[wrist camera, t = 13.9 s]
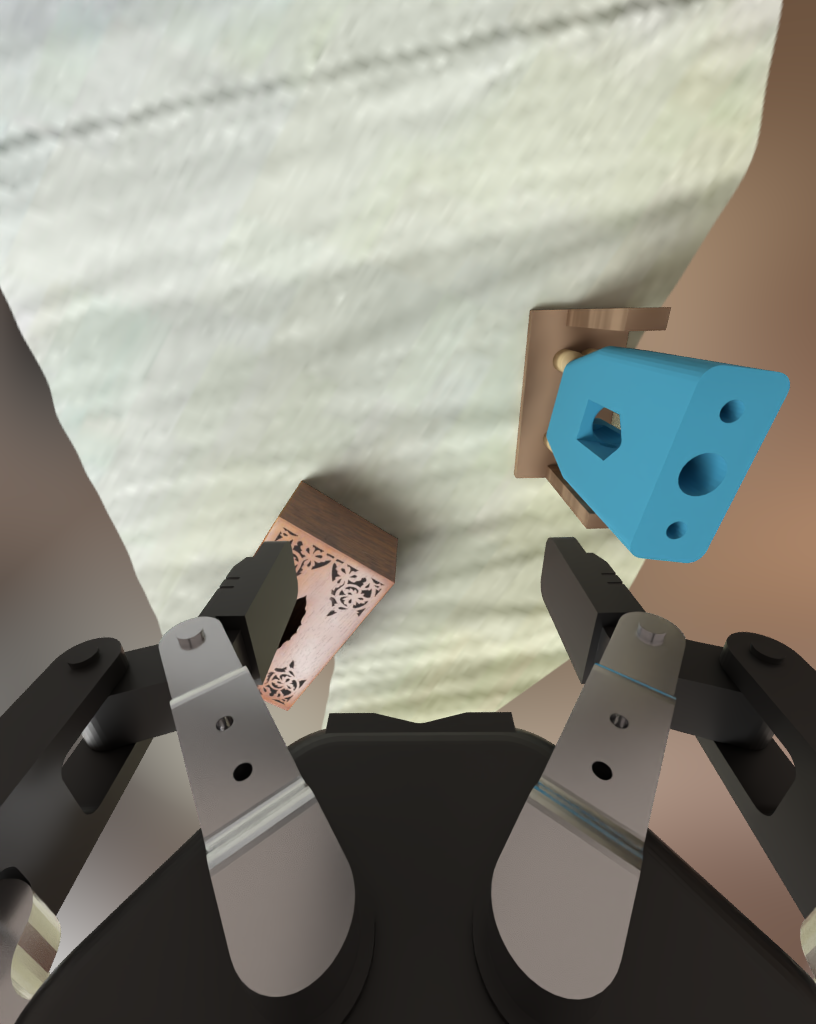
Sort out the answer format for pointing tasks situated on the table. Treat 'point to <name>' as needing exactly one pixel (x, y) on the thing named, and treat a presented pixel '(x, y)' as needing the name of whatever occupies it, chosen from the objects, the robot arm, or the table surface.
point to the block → (661, 443)
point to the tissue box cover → (325, 586)
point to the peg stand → (546, 357)
